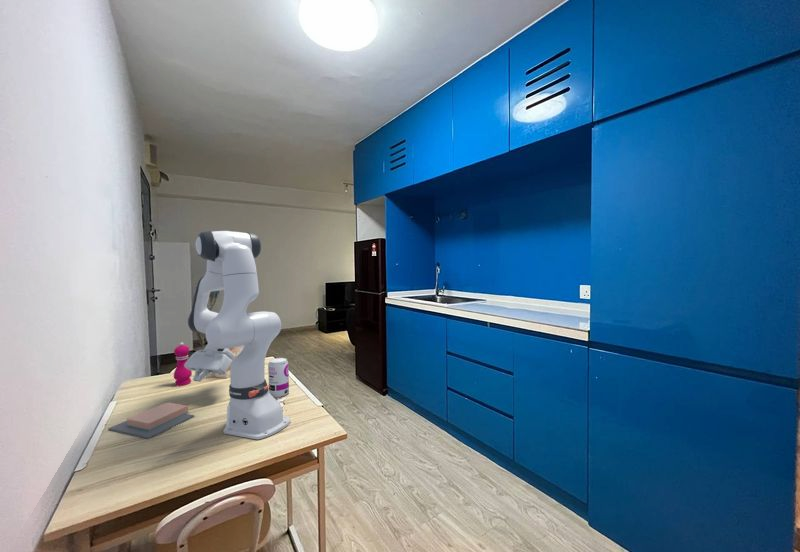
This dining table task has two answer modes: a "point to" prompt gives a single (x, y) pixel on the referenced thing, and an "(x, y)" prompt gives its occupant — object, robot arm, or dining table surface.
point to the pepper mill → (182, 366)
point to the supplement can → (278, 377)
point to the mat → (152, 433)
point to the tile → (157, 416)
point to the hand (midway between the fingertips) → (196, 380)
